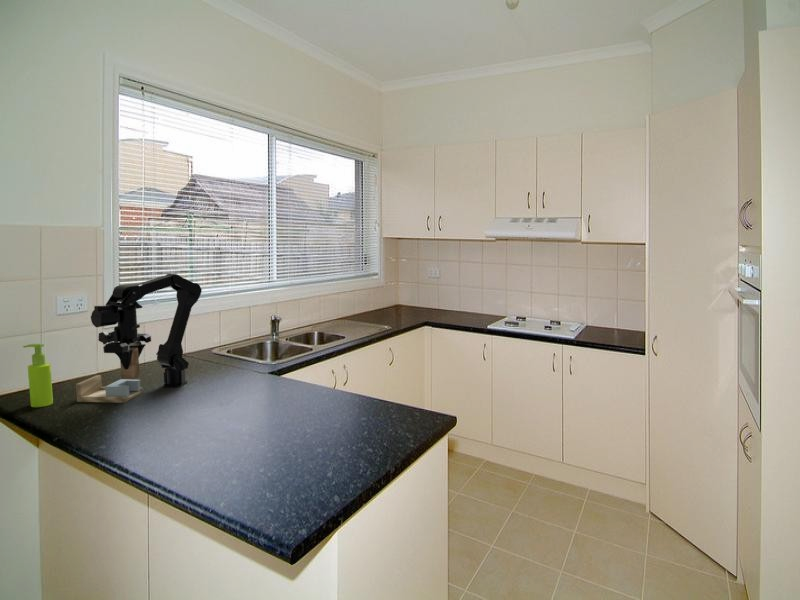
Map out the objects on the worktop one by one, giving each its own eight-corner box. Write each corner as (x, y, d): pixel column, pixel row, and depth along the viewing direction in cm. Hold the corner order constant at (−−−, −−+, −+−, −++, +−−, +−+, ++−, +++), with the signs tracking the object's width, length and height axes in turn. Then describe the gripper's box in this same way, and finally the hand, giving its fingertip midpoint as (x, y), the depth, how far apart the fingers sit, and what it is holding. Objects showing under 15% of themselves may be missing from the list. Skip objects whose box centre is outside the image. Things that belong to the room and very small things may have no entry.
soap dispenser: (35, 401, 160) (30, 342, 157) (57, 401, 160) (52, 342, 158) (23, 407, 154) (18, 346, 151) (45, 407, 154) (41, 346, 152)
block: (140, 389, 170) (140, 379, 169) (126, 397, 161) (126, 386, 161) (120, 389, 170) (120, 379, 169) (105, 397, 161) (105, 386, 161)
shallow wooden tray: (142, 392, 171) (141, 375, 170) (124, 402, 160) (123, 385, 159) (97, 391, 171) (96, 375, 170) (77, 401, 160) (75, 384, 159)
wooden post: (128, 375, 167) (126, 347, 165) (139, 376, 167) (138, 347, 165) (121, 379, 163) (119, 350, 161) (133, 379, 163) (131, 350, 161)
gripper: (119, 317, 172) (122, 360, 174) (85, 327, 153) (88, 374, 155) (150, 318, 172) (153, 360, 174) (120, 327, 153) (123, 375, 155)
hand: (129, 367), depth 164 cm, fingers closed on wooden post, 4 cm apart
